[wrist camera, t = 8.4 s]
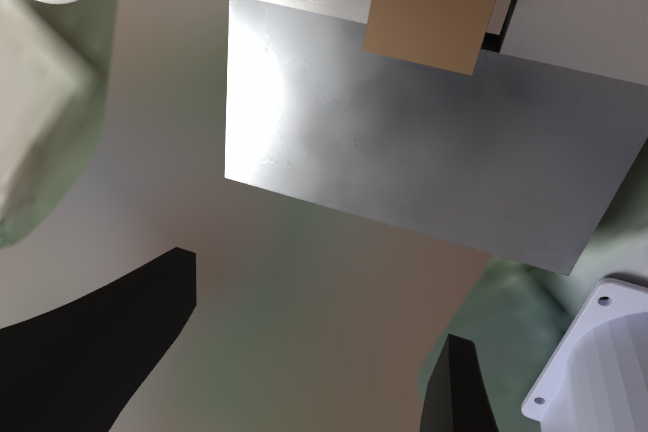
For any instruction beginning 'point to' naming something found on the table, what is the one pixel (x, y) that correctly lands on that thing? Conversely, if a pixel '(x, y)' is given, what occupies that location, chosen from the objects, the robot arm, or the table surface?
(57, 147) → the table surface
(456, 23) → the brown wooden block
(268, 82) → the square steel tile
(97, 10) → the table surface
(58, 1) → the wineglass
